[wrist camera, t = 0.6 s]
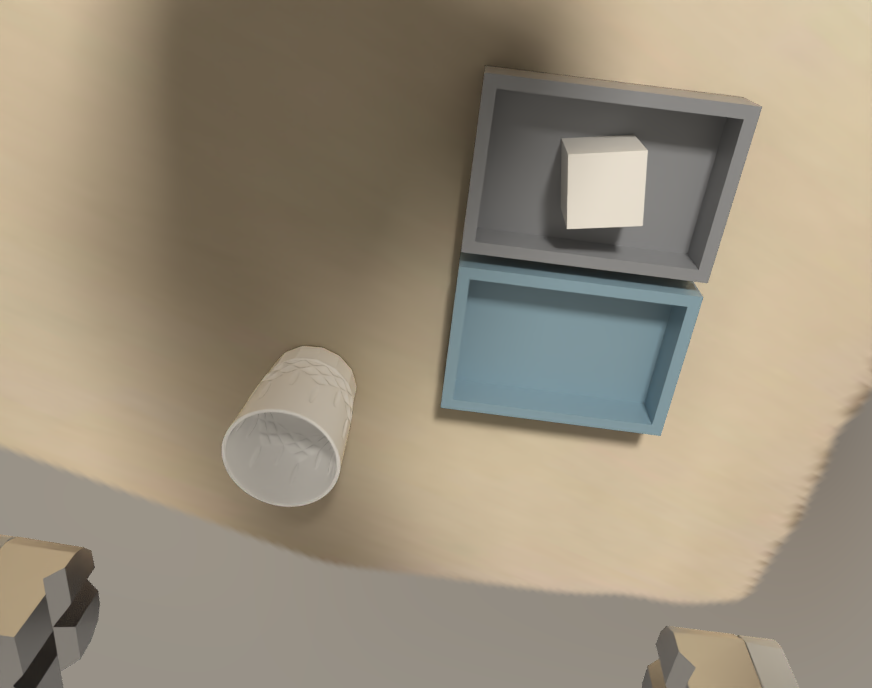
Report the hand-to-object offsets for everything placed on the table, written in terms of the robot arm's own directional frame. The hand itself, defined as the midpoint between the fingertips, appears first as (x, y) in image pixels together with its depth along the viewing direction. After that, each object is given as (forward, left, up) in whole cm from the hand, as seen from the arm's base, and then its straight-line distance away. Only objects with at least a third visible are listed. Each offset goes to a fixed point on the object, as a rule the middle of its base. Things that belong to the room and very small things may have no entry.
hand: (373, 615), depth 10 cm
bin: (+14, +9, -40) cm, 43 cm away
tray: (+2, +9, -40) cm, 41 cm away
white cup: (+21, -9, -40) cm, 47 cm away
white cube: (+2, +9, -40) cm, 41 cm away
